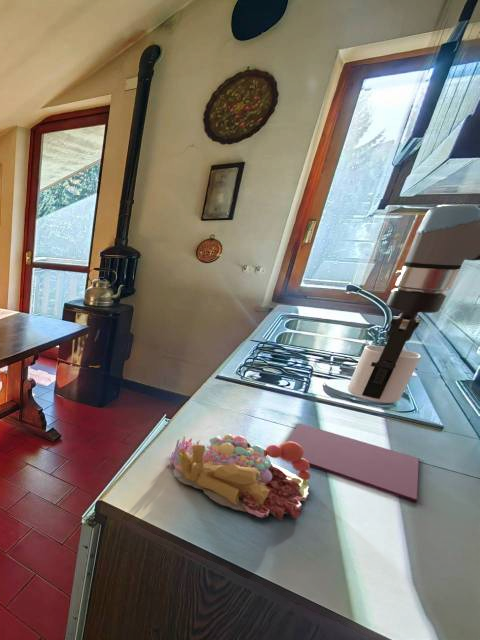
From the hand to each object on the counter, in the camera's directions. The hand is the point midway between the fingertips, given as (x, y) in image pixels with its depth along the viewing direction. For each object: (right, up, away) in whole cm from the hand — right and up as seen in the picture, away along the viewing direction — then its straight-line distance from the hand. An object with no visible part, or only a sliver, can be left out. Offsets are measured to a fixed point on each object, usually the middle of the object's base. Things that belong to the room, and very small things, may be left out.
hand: (373, 389), depth 86 cm
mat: (-2, -16, +4) cm, 16 cm away
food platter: (-34, -19, -4) cm, 39 cm away
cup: (0, -1, 0) cm, 1 cm away
